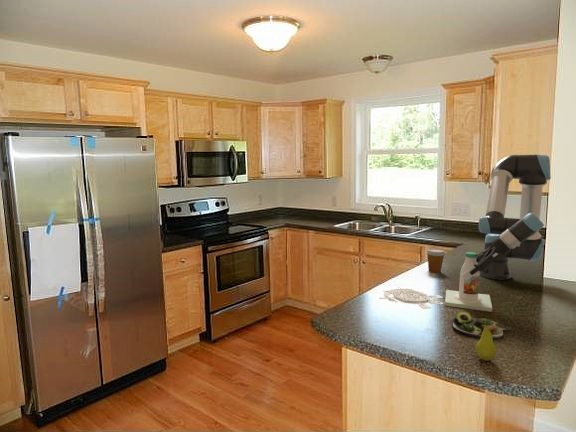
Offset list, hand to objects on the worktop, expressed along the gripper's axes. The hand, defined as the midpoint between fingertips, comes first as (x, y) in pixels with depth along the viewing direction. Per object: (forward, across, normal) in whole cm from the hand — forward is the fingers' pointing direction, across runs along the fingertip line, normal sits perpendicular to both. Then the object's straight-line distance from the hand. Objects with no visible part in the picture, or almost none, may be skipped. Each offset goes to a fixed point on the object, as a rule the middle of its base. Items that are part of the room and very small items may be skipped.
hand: (463, 273), depth 177 cm
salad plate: (+6, -30, -12) cm, 33 cm away
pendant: (+24, -4, +6) cm, 25 cm away
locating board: (+7, 0, -10) cm, 12 cm away
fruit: (+4, -55, -13) cm, 57 cm away
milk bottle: (+6, 0, -9) cm, 11 cm away
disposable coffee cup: (+18, +46, +1) cm, 50 cm away
